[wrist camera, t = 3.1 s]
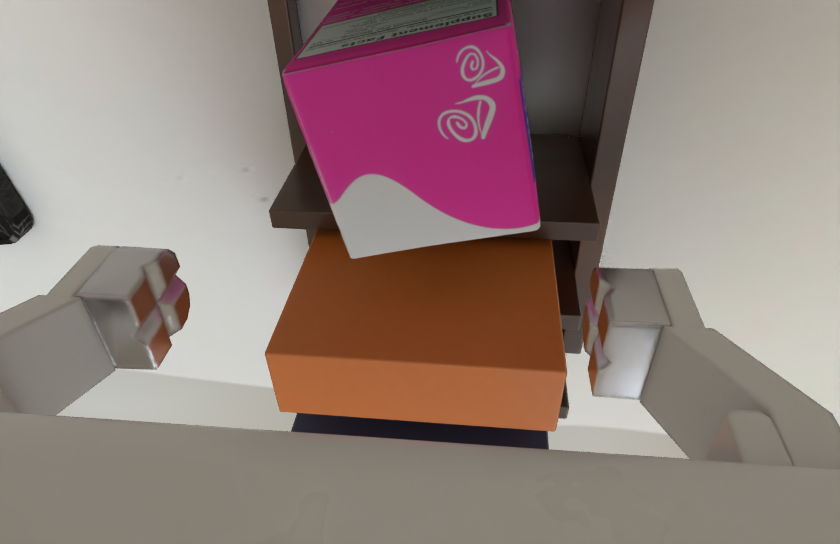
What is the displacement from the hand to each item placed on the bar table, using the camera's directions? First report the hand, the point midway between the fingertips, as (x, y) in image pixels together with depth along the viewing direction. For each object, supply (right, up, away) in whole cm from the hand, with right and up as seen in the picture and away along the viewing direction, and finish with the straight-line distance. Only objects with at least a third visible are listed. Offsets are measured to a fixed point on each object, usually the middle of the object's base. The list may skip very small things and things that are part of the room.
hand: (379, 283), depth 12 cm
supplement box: (+2, +10, +13) cm, 16 cm away
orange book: (+2, +5, +17) cm, 17 cm away
